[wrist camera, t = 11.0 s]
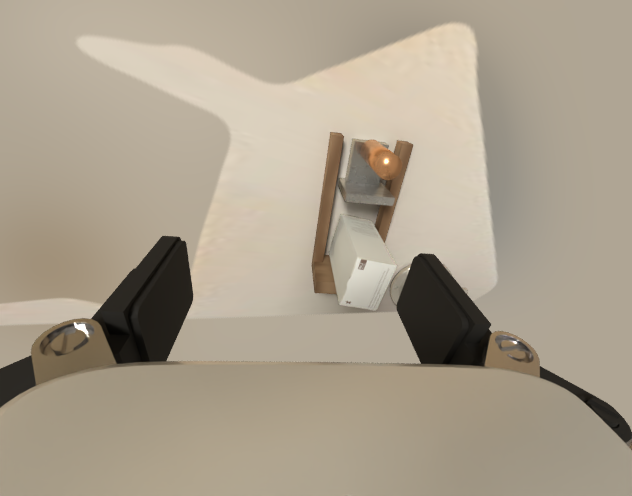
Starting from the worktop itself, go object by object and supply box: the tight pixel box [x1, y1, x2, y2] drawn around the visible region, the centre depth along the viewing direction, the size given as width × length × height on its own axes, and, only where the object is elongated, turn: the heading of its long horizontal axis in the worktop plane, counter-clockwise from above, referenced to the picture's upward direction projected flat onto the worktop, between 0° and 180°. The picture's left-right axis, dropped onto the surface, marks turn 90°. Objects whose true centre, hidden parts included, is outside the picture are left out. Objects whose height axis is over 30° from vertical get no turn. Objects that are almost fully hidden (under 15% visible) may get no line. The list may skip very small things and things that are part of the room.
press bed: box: [312, 132, 413, 294], centre depth 43 cm, size 12×24×8 cm, turn 173°
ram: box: [338, 139, 402, 206], centre depth 38 cm, size 7×8×11 cm
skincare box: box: [329, 214, 397, 311], centre depth 43 cm, size 8×6×15 cm
